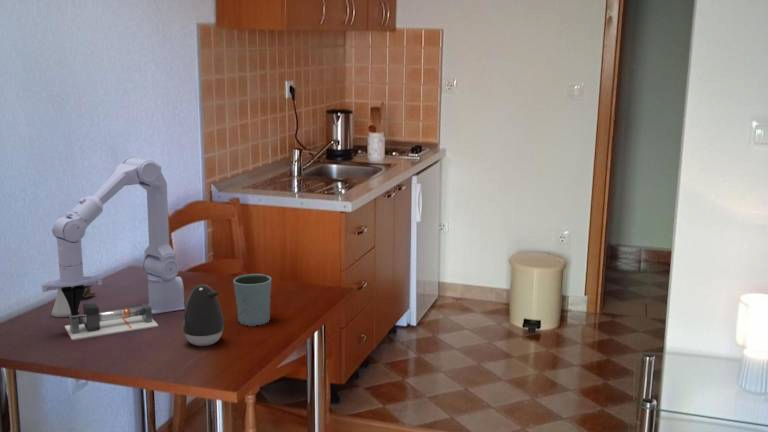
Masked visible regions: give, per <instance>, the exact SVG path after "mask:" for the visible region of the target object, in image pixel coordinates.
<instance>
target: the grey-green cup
mask: <svg viewBox="0 0 768 432" xmlns="http://www.w3.org/2000/svg"><path fill="white" fill-rule="evenodd" d="M232 282H233V288H234V295H235V303H236V309H237V311H236V313H237V321H238V323H239V322H240V323H241V324H240V323H239V324H240V325H242V324H244V325H243V326H246V325H248V326H249V327H257V326H256V325H259V326H262V325H261V324H263V325H266V324H268V323H269V322H270V321H271V309H270V308H271V294H272V291H271V290H272V277H271V276H269V275H267V274H264V273H263V274H262V273H261V274H260V273H250V274H249V273H248V274H243V275H242V274H241V275H239V276H236V277H235V278H234V279H233V281H232ZM269 320H270V321H269ZM267 322H268V323H267ZM265 323H266V324H265ZM248 326H247V327H248Z"/></svg>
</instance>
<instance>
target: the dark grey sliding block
mask: <svg viewBox="0 0 768 432" xmlns="http://www.w3.org/2000/svg"><path fill="white" fill-rule="evenodd" d="M82 309H83V310H82V311H83V315H86V317H87V324H84V325H85V327H86V328H87V330H88V331H91V330H97V329H100V321H99V313H100V310H99V307H98V305H97V304H96V302H89V303H83V304H82Z"/></svg>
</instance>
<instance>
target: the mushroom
mask: <svg viewBox="0 0 768 432" xmlns="http://www.w3.org/2000/svg"><path fill="white" fill-rule="evenodd" d="M93 286H94V285H89V286H84V289H85V291H84V294H83V296H82V298H84V299H86V298H91V297H92V296H94V295H95V293H96V292H94V291H92V290H91V287H93Z"/></svg>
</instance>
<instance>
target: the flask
mask: <svg viewBox="0 0 768 432" xmlns="http://www.w3.org/2000/svg"><path fill="white" fill-rule="evenodd" d="M57 280H60V278H57ZM55 297H56V298H55V301H54V305H53V308H52V310H51V314H50V316H51V317H56V318H69V315H70V314H71V311H70V307H69V304H68V302H67V300H66V298H65V296H64V294H63V292H62V290H61V289H58V290H57V294H56V296H55ZM79 312H80V308H79V309H78V313H79Z"/></svg>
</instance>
